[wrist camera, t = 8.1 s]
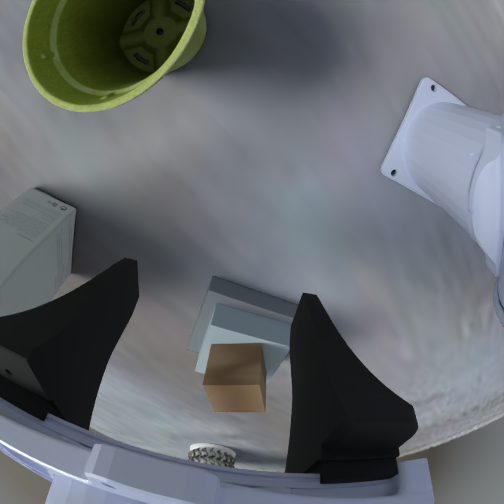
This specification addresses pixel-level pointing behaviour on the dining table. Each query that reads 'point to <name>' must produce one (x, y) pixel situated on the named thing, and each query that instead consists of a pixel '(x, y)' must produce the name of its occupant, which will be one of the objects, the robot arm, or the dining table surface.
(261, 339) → the top slab
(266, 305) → the base slab
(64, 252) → the skincare box
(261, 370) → the walnut cube
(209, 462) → the decorative candle
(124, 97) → the plant pot
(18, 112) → the dining table surface
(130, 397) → the dining table surface
